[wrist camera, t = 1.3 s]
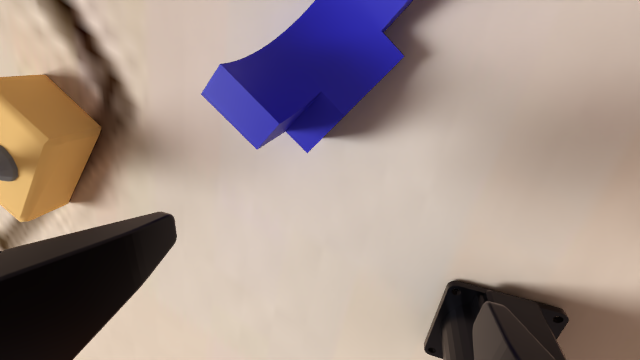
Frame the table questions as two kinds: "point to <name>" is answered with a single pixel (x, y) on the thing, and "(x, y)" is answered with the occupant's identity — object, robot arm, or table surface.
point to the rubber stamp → (40, 145)
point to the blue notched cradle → (308, 72)
